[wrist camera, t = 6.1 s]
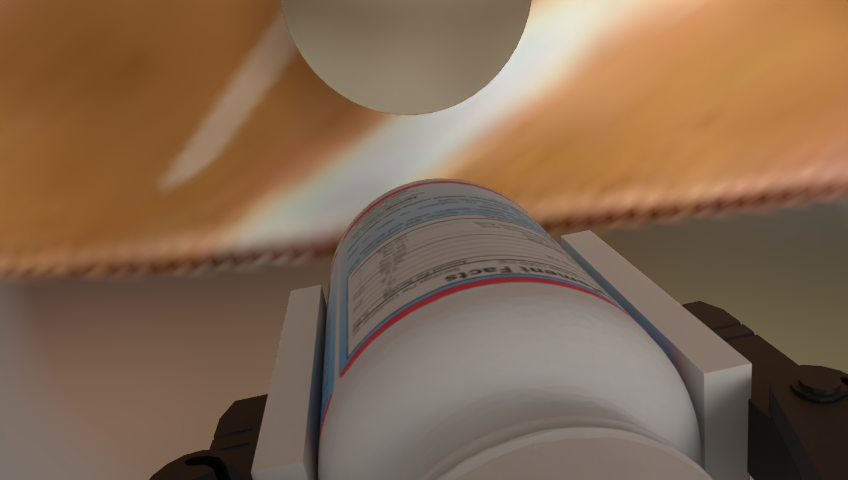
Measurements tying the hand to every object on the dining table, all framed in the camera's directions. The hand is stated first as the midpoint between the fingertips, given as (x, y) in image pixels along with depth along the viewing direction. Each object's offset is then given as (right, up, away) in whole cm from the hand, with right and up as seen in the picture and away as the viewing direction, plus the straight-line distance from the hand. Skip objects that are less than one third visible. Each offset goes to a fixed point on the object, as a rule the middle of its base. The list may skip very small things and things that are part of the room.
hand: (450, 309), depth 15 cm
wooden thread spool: (-2, +13, +13) cm, 18 cm away
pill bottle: (0, +1, +2) cm, 2 cm away
